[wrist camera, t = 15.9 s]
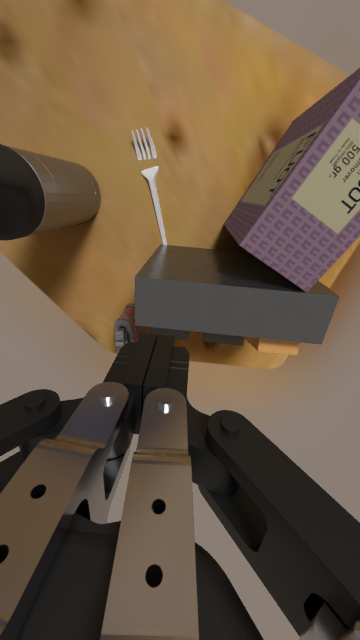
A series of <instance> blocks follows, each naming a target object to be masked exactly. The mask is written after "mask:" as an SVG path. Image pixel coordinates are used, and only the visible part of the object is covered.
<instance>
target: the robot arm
mask: <svg viewBox="0 0 360 640" xmlns="http://www.w3.org/2000/svg"><path fill="white" fill-rule="evenodd" d="M100 197H101V196H100V190H99V187H98V184H97V182H96V180H95V178H94V177H93V175H92V174H91V173H90V172H89V171H88V170H87V169H86V168H85V167H83V166H81V165H79V164H76V163H73V162H69V161H65V160H62V159H58V158H54V157H50V156H46V155H42V154H38V153H34V152H30V151H26V150H22V149H17V148H13V147H9V146H5V145H1V144H0V240H13V239H18V238H22V237H25V236H30V235H34V234H38V233H42V232H46V231H50V230H54V229H58V228H63V227H67V226H71V225H76V224H80V223H84V222H86V221H89V220H90V219H92V218H93V217H94V216H95V214H96V213H97V211H98V209H99V206H100ZM174 343H175V335H165V334H159V335H158V334H155V333H145V332H142V333H141V335H140V337H139V340H138V342H137V343H136V342H128V343H127V344H125V345H124V346H122V347H121V349H120V351H119V353H118V354H117V356H116V358H115V360H114V363H113V364H112V366H111V368H110V370H109V372H108V374H107V376H106V378H105V379H104V381H103V383H101V384H98V385H96V386H94V387H93V388H91V389H90V390H89V391H88V393H87V394H86V396H85V397H84V398H80V399H75V400H66V401H60V399H59V396H58V394H57V393H56V392H54V391H51V390H46V389H41V390H34V391H31V392H28V393H26V394H23V395H21V396H19V397H17V398H14V399H12V400H10V401H8V402H6V403H3V404H1V405H0V456H2V455H3V454H5V453H7V452H9V451H11V450H12V449H14V448H16V447H17V446H19V448H20V451H19V452H17V453H16V454H14V455H12V456H10V457H9V458H7V459H5V460H4V461H2V462H0V640H263V638H262V636H261V634H260V633H259V631H258V629H257V627H256V626H255V624H254V622H253V620H252V619H251V617H250V615H249V614H248V612H247V610H246V608H245V606H244V605H243V603H242V601H241V599H240V598H239V596H238V594H237V592H236V591H235V589H234V587H233V586H232V584H231V582H230V580H229V579H228V577H227V576H226V574H225V572H224V571H223V570H222V569H221V567H220V566H219V564H218V563H217V562H216V561H215V559H214V558H213V557H212V556H211V555H210V554H209V553H208V552H207V551H205V549H203V548H202V547H201V546H200V545H198V544H197V543H195V539H194V517H193V516H194V515H193V493H192V482H194V483H196V484H198V487H199V490H200V492H201V494H202V495H203V497H204V498H205V500H206V501H207V503H208V504H209V506H210V507H211V508H212V510H213V511H214V513H215V514H216V516H217V517H218V519H219V520H220V521H221V523H222V524H223V526H224V527H225V529H226V530H227V532H228V533H229V535H230V536H231V538H232V539H233V540H234V542H235V543H236V545H237V546H238V548H239V549H240V551H241V552H242V554H243V555H244V556H245V558H246V559H247V561H248V562H249V564H250V565H251V567H252V568H253V570H254V571H255V572H256V574H257V575H258V577H259V578H260V580H261V581H262V583H263V584H264V586H265V587H266V588H267V590H268V591H269V593H270V594H271V595H272V597H273V599H274V600H275V601H276V603H277V604H278V606H279V607H280V609H281V610H282V612H283V613H284V614H285V616H286V617H287V619H288V620H289V622H290V623H291V625H292V626H293V628H294V629H295V631H296V632H297V633H298V635H299V636H300V640H360V523H359V522H358V521H357V520H356V519H355V518H354V517H353V516H352V515H351V514H349V513H348V512H347V511H346V510H345V509H344V508H343V507H342V506H341V505H340V504H338V502H336V501H335V500H334V499H333V498H332V497H331V496H330V495H329V494H328V493H327V492H326V491H325V490H323V489H322V488H321V487H320V486H319V485H318V484H317V483H316V482H315V481H314V480H313V479H311V478H310V477H309V476H308V475H307V474H306V473H305V472H304V471H303V470H302V469H301V468H300V467H298V466H297V465H296V464H295V463H294V462H293V461H292V460H291V459H290V458H289V457H288V456H286V455H285V454H284V453H283V452H282V451H281V450H280V449H279V448H278V447H277V446H276V445H275V444H273V443H272V442H271V441H270V440H269V439H268V438H267V437H266V436H265V435H264V434H262V433H261V432H260V431H259V430H258V429H257V428H256V427H255V426H254V425H253V424H252V423H251V422H250V421H248V420H247V419H246V418H245V417H244V416H242V415H241V414H239V413H237V412H233V411H229V410H221V411H218V412H215V413H214V414H212V415H211V416H209V415H206V414H203V413H201V412H199V411H197V410H196V409H195V408H193V407H192V406H191V405H190V403H189V402H188V400H187V381H188V367H189V353H188V351H187V350H186V348H185V347H175V346H174ZM133 434H139V437H138V443H137V449H136V452H134V454H133V458H132V462H131V468H130V474H129V479H128V485H127V491H126V496H125V502H124V508H123V513H122V519H121V521H118V522H112V523H107V517H108V512H109V508H110V505H111V502H112V499H113V496H114V493H115V491H116V488H117V485H118V483H119V480H120V477H121V474H122V472H123V469H124V466H125V463H126V461H127V458H128V455H129V450H130V444H131V440H132V437H133Z"/></svg>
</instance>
